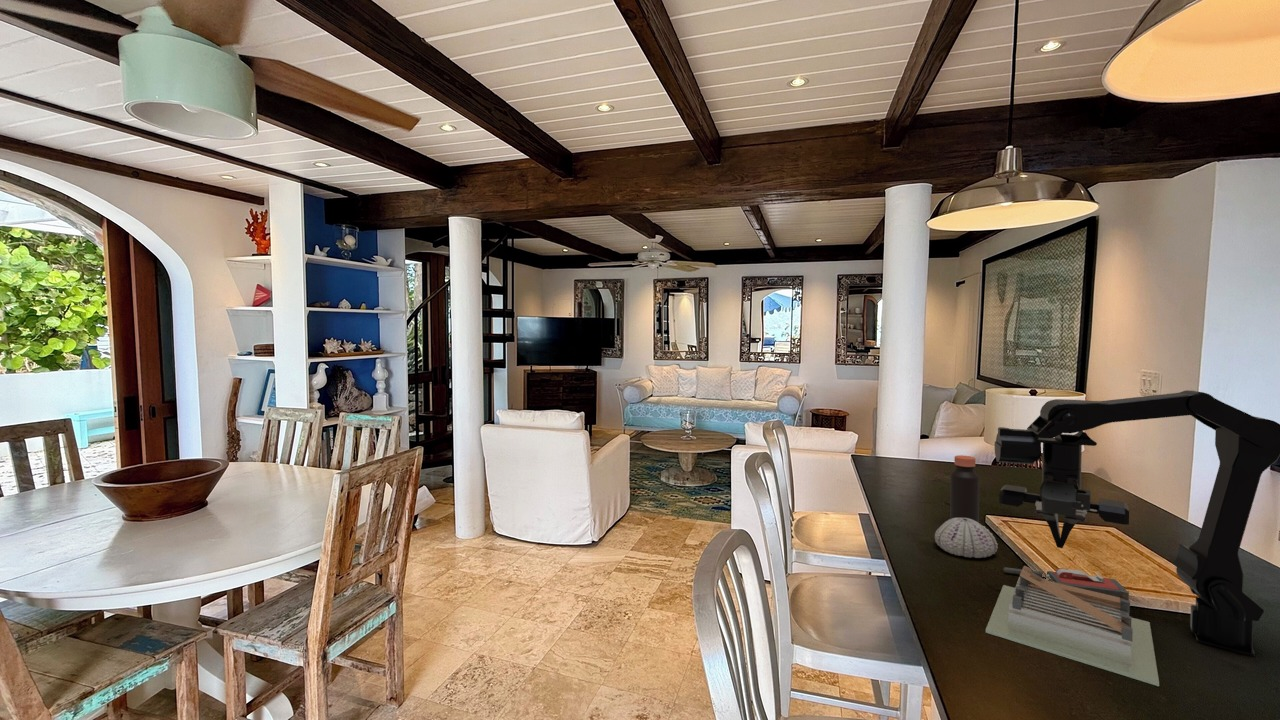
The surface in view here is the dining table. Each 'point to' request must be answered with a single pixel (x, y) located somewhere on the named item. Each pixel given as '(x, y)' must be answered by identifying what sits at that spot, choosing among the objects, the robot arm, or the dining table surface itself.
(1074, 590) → the strap
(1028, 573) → the strap
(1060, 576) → the walkie-talkie
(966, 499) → the bottle
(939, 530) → the sea urchin shell
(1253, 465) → the robot arm
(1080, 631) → the heat sink board
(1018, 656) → the dining table surface
